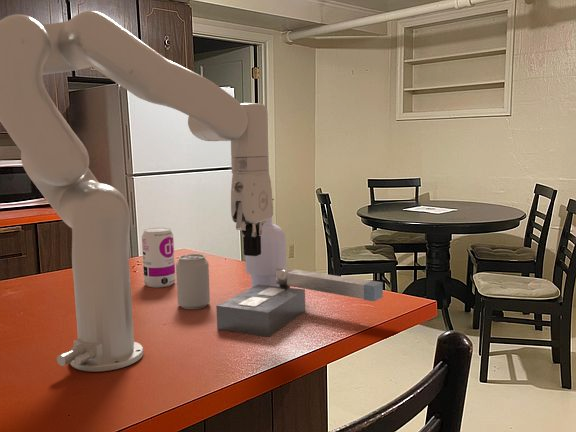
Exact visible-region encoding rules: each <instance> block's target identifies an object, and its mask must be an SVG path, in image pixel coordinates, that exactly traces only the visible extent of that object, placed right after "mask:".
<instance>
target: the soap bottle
mask: <svg viewBox="0 0 576 432" xmlns="http://www.w3.org/2000/svg"><path fill="white" fill-rule="evenodd" d="M272 200H273V201H274V198H272ZM259 236H261V254H260V255H258V256H247V255H244V257H245V258H244V259H245V272H246V274H248V275H250V278H251V279H250V281H251V284H250V285H251V287H250V288H252V287H254V286H256V285H258V284H259V285H268V286H277V287H280V285H279V284H276V269H280V268H287V243H286V242H287V239H286V235H285V233H284V231H283V229H282V227H280V226H279V225H277V224H275V223H273V216H272V217H271V218H270V219H268V220H266V223H265V224H263V225H262V234H261V235H259Z"/></svg>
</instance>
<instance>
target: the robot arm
mask: <svg viewBox="0 0 576 432" xmlns="http://www.w3.org/2000/svg"><path fill="white" fill-rule="evenodd" d="M88 68H93V69H95V70H96V71H97V72H99V73H101V74H102V75H103V76H105V77H107V78H108V79H109V80H111V81H113V82H115V83H116V84H117V85H119V86H120V87H121V88H123V89H125V90H126V91H127V92H129V93H130V94H132V95H134V96H135V97H137V98H139V99H140V100H143V101H146V102H147V103H151V104H155V105H158V106H159V105H160V106H163V107H168V108H171V109H173V110H175V111H178V112H179V113H183V114H184V115H186V116H188V117H187V126H188V130H189V131H190V133H192V135H193V136H195V138H197V139H199V140H201V141H204V142H229V141H230V155H231V156H230V157H231V158H230V160H231V163H230V164H231V165H230V166H231V174H232V176H231V177H232V178H231V189H230V191H231V192H230V214H231V220H232V221H233V223H235V228H236V230H237V231H241V236H242V240H243V241H242V242H243V255H244V256H245V255H247V256H258V255H260V254H261V236H259V235H261V234H262V225H263V224H265V223H266V220H268V219H270V218H271V217H272V218H273V215H274V206H273V205H274V202H273V201H274V200H272V199H273V190H272V182H271V181H272V180H271V176H270V170H269V169H270V167H269V166H270V165H269V164H270V162H269V161H270V159H269V155H270V154H269V153H270V152H269V122H268V121H269V118H268V114H269V113H268V108H267V107H266V105H265V104H263V103H258V102H257V103H255V102H243V103H240V101H238V100H237V99H236V98H235V97H233V96H232V95H231V93H228V92H227V91H226V90H224V89H223V88H222V87H220V86H218V84H216V83H214V82H213V81H212V80H210V79H208V78H206V77H204V76H202V75H201V74H199V73H196V72H194V71H192V70H190V69H188V68H186V67H184V66H182V65H181V64H178V63H176V62H173V61H172V60H170V59H167V58H166V57H164V56H163V55H162V54H160V53H158V52H157V51H156V50H154V49H153V48H152V47H150V46H149V45H147V44H146V43H145V42H144V41H142V40H141V39H139V37H137V36H135V35H134V34H132V33H131V32H130V31H128V30H127V29H125V28H124V27H123V26H121V25H120V24H118V22H116V21H114V20H113V19H112V18H110V17H109V16H107V15H106V14H104V13H101V12H100V11H96V10H85V11H83V12H82V11H81V12H80V13H77V14H76V15H74V16H73V17H71V19H68V20H67V21H61V22H54V23H53V22H52V23H45V24H43V23H42V24H41V23H40V22H39V21H38V20H36V19H35V18H33V17H31V16H29V15H26V14H20V13H19V14H18V13H17V14H10V15H7V16H5V17H3V18H2V19H0V124H1V125H2V126H3V128H4V130H5V131H6V132H7V134H8V135H9V137H10V138H11V140H12V141H13V142H14V144H15V145H16V147H17V148H18V149H19V151H21V152H20V160H21V164H22V168H23V169H24V171H25V173H26V174H27V176H28V177H29V179H30V180H31V181H32V183H33V185H35V186H36V188H37V189H38V190H39V192H40V193H41V195H42V196H43V198H45V200H46V202H47V203H48V204H49V205H50V206H51V208H52V209H53V211H55V213H56V214H57V215H58V217H59V218H60V219H61V221H63V222H64V223H65V224H66V225H67V226H68V227H69V228H71V231H72V233H71V234H72V236H71V237H72V238H71V239H72V240H71V264H72V265H71V267H72V277H73V278H72V279H73V289H74V290H73V291H74V305H75V316H76V319H75V320H76V329H77V330H76V332H77V339H75V340H73V342H72V343H73V346H72V347H71V348H70V350H69V351H65V352H63V353H61V354H59V355H57V357H56V362H57V364H58V365H59V366H61V367H64V366H66V365H68V364H70V366H71V367H72V368H74V369H76V370H78V371H81V372H82V371H83V372H93V373H94V372H99V373H100V372H108V371H114V370H119V369H122V368H125V367H129V366H131V365H133V364H134V363H136V362H138V361H139V360H141V358H142V357H143V355H144V347H143V345H142V344H141V343H139V342H137V341H135V339H134V338H135V337H134V336H135V335H134V322H133V304H132V301H133V299H132V288H131V287H132V286H131V285H132V284H131V271H130V270H131V268H130V253H129V252H130V251H129V250H130V232H131V231H130V230H131V211H130V206H129V204H128V202H127V199H126V198H125V196H124V195H123V193H121V192H120V190H118V189H117V188H116V187H114V186H112V185H110V184H107V183H102V182H99V180H98V179H97V177H96V176H95V175H94V174H93V172H92V170H91V169H90V168H89V167H90V156H89V152H88V150H87V148H86V146H85V145H84V143H83V141H81V140H80V138H79V137H78V135H77V134H76V133H75V132H74V130H73V129H72V128H71V125H70V124H69V123H68V122H67V120H66V119H65V118H64V116H63V115H62V114H61V112H60V110H59V109H58V108H57V105H55V102H54V101H53V100H52V98H51V96H50V94H49V93H48V91H47V88H46V85H45V83H44V78H43V76H44V75H45V76H46V75H51V74H53V75H54V74H58V73H59V74H60V73H67V72H73V71H79V70H84V69H88Z"/></svg>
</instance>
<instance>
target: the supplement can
mask: <svg viewBox="0 0 576 432" xmlns="http://www.w3.org/2000/svg"><path fill="white" fill-rule="evenodd" d="M141 244H142V245H141V246H142V247H141V248H142V263H143V265H142V266H143V283H144V284H145V285H146V287H149V288H155V289H157V288H165V287H169V286H172V285H174V283H175V282H176V263H175V246H174V245H175V243H174V233H173V231H172V230H171V228H170V227H169V228H168V227H152V228H151V227H149V228H147V229H144V230H143V233H142V235H141Z"/></svg>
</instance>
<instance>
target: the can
mask: <svg viewBox="0 0 576 432" xmlns="http://www.w3.org/2000/svg"><path fill="white" fill-rule="evenodd" d="M209 265H210V263H209V261H208V260H207V259H206V255H205V254H202V253H190V254H189V253H186V254H183V255H180V256H179V257H178V260H177V262H176V263H175V277H176V292H177V294H176V295H177V305H179V306H180V307H181V308H182V309H184V310H198V309H203V308H205V307H207V305H208V304H209V303H210V301H211V298H210V293H211V292H210V272H209V271H210V269H209V267H210V266H209Z"/></svg>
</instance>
